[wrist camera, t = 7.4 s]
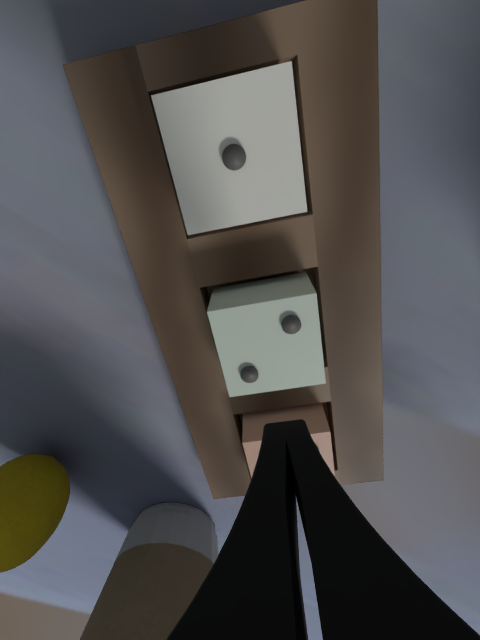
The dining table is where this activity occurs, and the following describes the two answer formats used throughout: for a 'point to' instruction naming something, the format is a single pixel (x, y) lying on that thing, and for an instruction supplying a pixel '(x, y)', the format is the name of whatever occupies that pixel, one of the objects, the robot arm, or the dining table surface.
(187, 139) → the tile one pip
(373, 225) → the board
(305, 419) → the tile three pip
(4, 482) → the lemon
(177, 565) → the coffee cup
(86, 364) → the dining table surface
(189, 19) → the dining table surface
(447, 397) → the dining table surface
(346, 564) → the robot arm
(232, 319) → the tile two pip
